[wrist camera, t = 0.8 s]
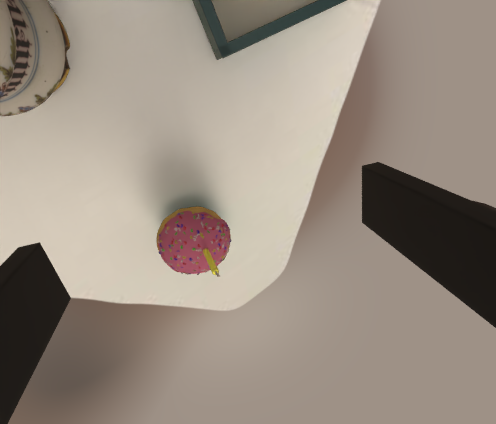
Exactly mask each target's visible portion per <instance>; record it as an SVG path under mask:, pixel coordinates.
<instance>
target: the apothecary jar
mask: <svg viewBox="0 0 496 424" xmlns="http://www.w3.org/2000/svg"><path fill="white" fill-rule="evenodd" d="M69 48H70V43H69V39H68V36H67V33H66V31H65V29H64V27H63V25H62V22H61V21H60V19H59V18H58V17H57V15H56V14H55V13H54V11H53V10H52V8H51V6H50V4H49V3H48V1H47V0H0V116H10V115H16V114H20V113H24V112H27V111H29V110H31V109H33V108H35V107H37V106H39V105H40V104H42V103H43V102H44V101H45V100H46V99H47V98H48V97H49V96H50V95H51V94H52V93H53V92H54V91H55V90H57V89H58V88H59V87H60V86H61V85H62V83H63V82H64V80H65V79H66V77H67V75H68V72H69V69H70V68H69V65H68V61H67V58H66V52H67V50H68V49H69Z"/></svg>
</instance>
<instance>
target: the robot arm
mask: <svg viewBox="0 0 496 424" xmlns="http://www.w3.org/2000/svg"><path fill="white" fill-rule="evenodd" d="M362 223H363V224H365V225H366V226H367V227H368V228H370V229H371V230H373V231H374V232H375V233H376V234H377V235H379V236H380V237H381V238H382V239H384V240H385V241H386V242H388V243H389V244H390V245H391V246H393V247H394V248H395V249H396V250H398V251H399V252H400V253H402V254H403V255H404V256H405V257H407V258H408V259H409V260H411V261H412V262H413V263H414V264H415V265H417V266H418V267H419V268H420V269H422V270H423V271H424V272H426V273H427V274H428V275H429V276H431V277H432V278H433V279H434V280H436V281H437V282H439V283H440V284H441V285H442V286H443V287H445V288H446V289H447V290H448V291H450V292H451V293H452V294H454V295H455V296H456V297H457V298H459V299H460V300H461V301H462V302H464V303H465V304H466V305H467V306H469V307H470V308H471V309H472V310H474V311H475V312H476V313H478V314H479V315H480V316H481V317H483V318H484V319H485V320H486V321H488V322H489V323H490V324H491V325H493V326H494V327H495V328H496V208H494V207H492V206H489V205H487V204H484V203H479V202H475V201H471V200H468V199H466V198H463V197H461V196H459V195H456V194H454V193H451V192H449V191H447V190H444V189H442V188H439V187H437V186H434V185H432V184H430V183H428V182H425V181H423V180H420V179H418V178H416V177H413V176H411V175H408V174H406V173H404V172H401V171H399V170H396V169H394V168H392V167H389V166H387V165H384V164H382V163H379V162H377V163H372V164H368V165H364V166H362ZM70 299H71V298H70V296H69V294H68V292H67V291H66V289H65V287H64V285H63V283H62V282H61V280H60V278H59V276H58V274H57V273H56V271H55V269H54V267H53V265H52V264H51V262H50V260H49V258H48V256H47V255H46V253H45V251H44V249H43V248H42V246H41V244H40V243H35V244H31V245H27V246H23V247H19V248H17V249H16V250H15V251H14V253H13V254H12V255H11V256H10V257H9V258H8V259H7V260H6V261H5V262H4V263H3V264H2V265H1V266H0V424H8V422H9V420H10V418H11V416H12V414H13V412H14V410H15V408H16V406H17V404H18V402H19V400H20V398H21V396H22V394H23V392H24V390H25V388H26V386H27V384H28V382H29V380H30V378H31V376H32V374H33V372H34V370H35V368H36V366H37V364H38V362H39V360H40V358H41V356H42V355H43V352H44V351H45V349H46V347H47V344H48V343H49V341H50V338H51V337H52V335H53V333H54V331H55V329H56V327H57V325H58V323H59V321H60V319H61V317H62V315H63V313H64V311H65V309H66V307H67V305H68V303H69V301H70Z"/></svg>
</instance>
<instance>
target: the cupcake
mask: <svg viewBox="0 0 496 424" xmlns="http://www.w3.org/2000/svg"><path fill="white" fill-rule="evenodd" d="M230 240H231V238H230V229H229V227H228V225H227V223H226V222H225V221H224V220H223V219H221V218H220V217H219V216H218V215H217V214H216V213H215V212H214V211H211V210H209V209H206V208H204V207H189V208H181V209H178V210H177V211H175V212H174V213H172V214H171V215H169V216H168V217H166V218H165V219H164V220H163V222H162V224H161V226H160V228H159V230H158V233H157V247H158V250H159V254H161V257H162V259H163V260H164V262H165V263H166V264H167V265H168V266H170V267H171V268H172V269H173V270H175V271H177V272H181V273H182V274H183V273H186V274H196V273H197V275H199V274H200V273H203V272H207V271H209V270H211V271H212V273H213V274H214V275H217V276H218V277H220V275H219V274H218V273H219V271H218V268H217V265H218V264H220V263H221V262H222V261H223V260H224V259H225V256H226V254H227V253H228V252H229V246H230V242H231V241H230Z"/></svg>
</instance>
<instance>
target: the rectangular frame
mask: <svg viewBox="0 0 496 424" xmlns="http://www.w3.org/2000/svg"><path fill="white" fill-rule="evenodd" d="M344 1H346V0H318V1H315V2H313V3H311V4H309V5H307V6H305V7H303V8H300V9H298V10H296V11H294V12H292V13H290V14H288V15H285V16H283V17H281V18H279V19H277V20H275V21H273V22H271V23H268V24H266V25H264V26H262V27H260V28H258V29H256V30H253V31H251V32H249V33H247V34H245V35H243V36H241V37H238V38H236V39H234V40H232V41H230V42H228V43H227V40H226V37H225V35H224V32H223V30H222V27H221V25H220V22H219V19H218V17H217V14H216V12H215V9H214V6H213V4H212V1H211V0H193V3H194V5H195V8H196V10H197V12H198V15H199V17H200V20H201V22H202V25H203V27H204V29H205V32H206V34H207V37H208V39H209V42H210V44H211V46H212V49H213V51H214V54H215V56H216V59H217V60H219V59H221V58H225V57H227V56H229V55H231V54H233V53H235V52H237V51H240V50H242V49H244V48H246V47H248V46H250V45H252V44H254V43H257V42H259V41H261V40H263V39H265V38H267V37H269V36H272V35H274V34H276V33H278V32H280V31H282V30H284V29H286V28H289V27H291V26H293V25H295V24H297V23H299V22H301V21H304V20H306V19H308V18H310V17H312V16H314V15H316V14H319V13H321V12H323V11H325V10H327V9H329V8H331V7H333V6H336V5H338V4H340V3H342V2H344Z"/></svg>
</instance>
